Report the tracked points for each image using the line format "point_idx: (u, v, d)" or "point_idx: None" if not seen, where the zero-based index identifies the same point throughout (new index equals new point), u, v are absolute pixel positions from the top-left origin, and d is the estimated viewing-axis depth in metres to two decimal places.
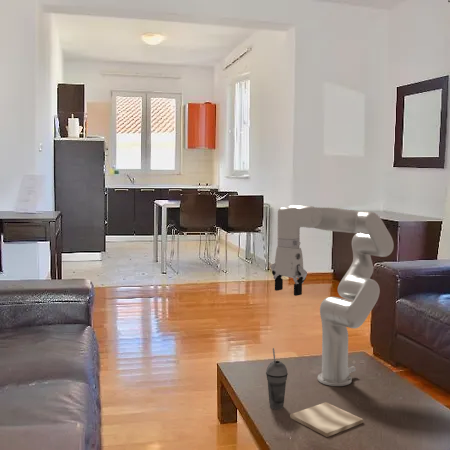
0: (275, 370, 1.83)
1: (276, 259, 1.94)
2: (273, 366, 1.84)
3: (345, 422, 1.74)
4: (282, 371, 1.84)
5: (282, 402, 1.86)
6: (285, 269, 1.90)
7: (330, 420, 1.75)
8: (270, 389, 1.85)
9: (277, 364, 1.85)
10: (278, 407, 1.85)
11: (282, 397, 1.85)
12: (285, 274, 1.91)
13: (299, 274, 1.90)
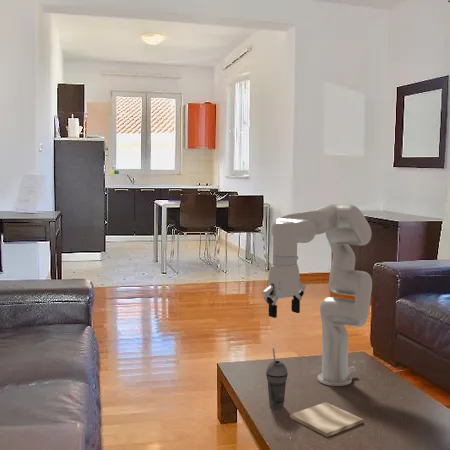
0: (275, 370, 1.83)
1: (280, 281, 1.72)
2: (273, 366, 1.84)
3: (345, 422, 1.74)
4: (282, 371, 1.84)
5: (282, 402, 1.86)
6: (292, 288, 1.75)
7: (330, 420, 1.75)
8: (270, 389, 1.85)
9: (277, 364, 1.85)
10: (278, 407, 1.85)
11: (282, 397, 1.85)
12: (291, 294, 1.75)
13: None
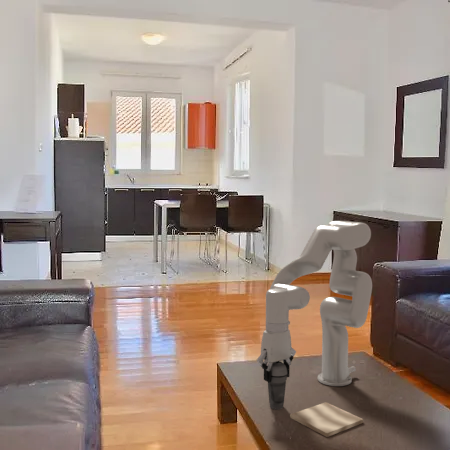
0: (275, 370, 1.83)
1: (272, 347, 1.82)
2: (273, 366, 1.84)
3: (345, 422, 1.74)
4: (282, 371, 1.84)
5: (282, 402, 1.86)
6: (284, 353, 1.85)
7: (330, 420, 1.75)
8: (270, 389, 1.85)
9: (277, 364, 1.85)
10: (278, 407, 1.85)
11: (282, 397, 1.85)
12: (283, 358, 1.85)
13: None
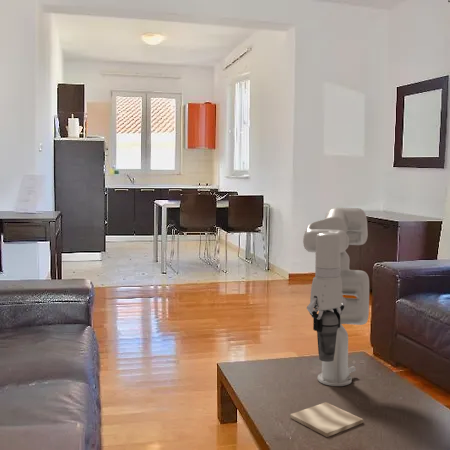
0: (326, 319, 1.71)
1: (324, 294, 1.70)
2: (324, 315, 1.72)
3: (345, 422, 1.74)
4: (334, 320, 1.72)
5: (333, 354, 1.74)
6: (335, 301, 1.73)
7: (330, 420, 1.75)
8: (320, 340, 1.73)
9: (328, 313, 1.73)
10: (329, 359, 1.74)
11: (333, 348, 1.73)
12: (334, 306, 1.73)
13: None
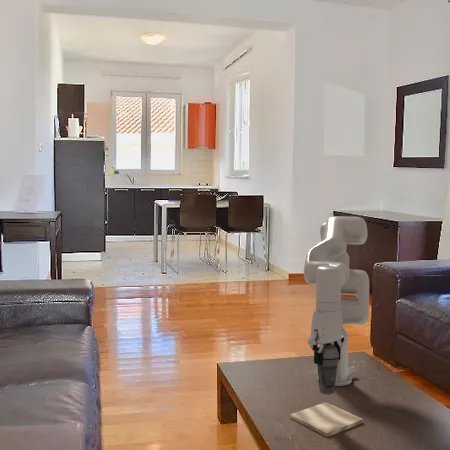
0: (327, 352, 1.72)
1: (324, 327, 1.70)
2: (324, 348, 1.73)
3: (345, 422, 1.74)
4: (334, 353, 1.72)
5: (333, 386, 1.75)
6: (335, 334, 1.73)
7: (330, 420, 1.75)
8: (321, 373, 1.74)
9: (328, 346, 1.73)
10: (329, 392, 1.74)
11: (333, 381, 1.74)
12: (334, 339, 1.74)
13: None
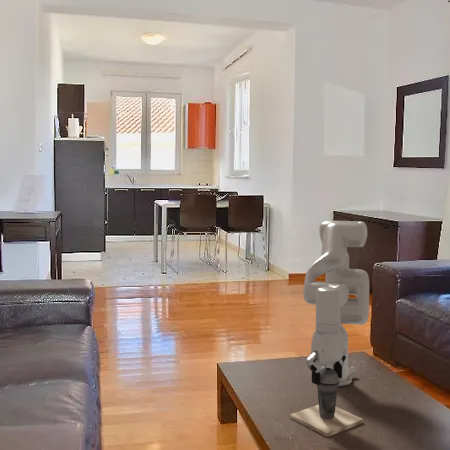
0: (327, 377, 1.73)
1: (324, 349, 1.71)
2: (324, 374, 1.74)
3: (345, 422, 1.74)
4: (334, 379, 1.74)
5: (333, 411, 1.76)
6: (335, 355, 1.74)
7: (330, 420, 1.75)
8: (321, 398, 1.75)
9: (328, 371, 1.75)
10: (329, 417, 1.75)
11: (333, 406, 1.75)
12: (334, 360, 1.74)
13: None
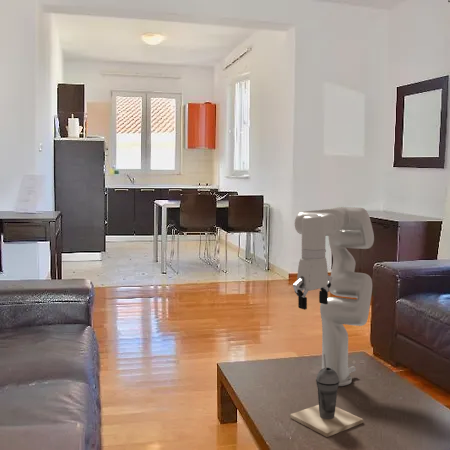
0: (327, 377, 1.73)
1: (310, 274, 1.77)
2: (324, 374, 1.74)
3: (345, 422, 1.74)
4: (334, 379, 1.74)
5: (333, 411, 1.76)
6: (321, 281, 1.80)
7: (330, 420, 1.75)
8: (321, 398, 1.75)
9: (328, 371, 1.75)
10: (329, 417, 1.75)
11: (333, 406, 1.75)
12: (320, 286, 1.80)
13: None
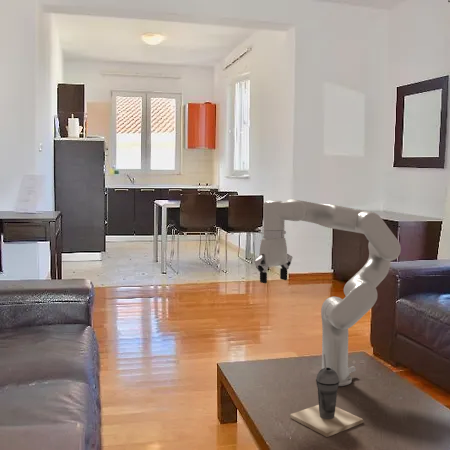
0: (327, 377, 1.73)
1: (270, 252, 2.00)
2: (324, 374, 1.74)
3: (345, 422, 1.74)
4: (334, 379, 1.74)
5: (333, 411, 1.76)
6: (280, 258, 2.03)
7: (330, 420, 1.75)
8: (321, 398, 1.75)
9: (328, 371, 1.75)
10: (329, 417, 1.75)
11: (333, 406, 1.75)
12: (279, 263, 2.03)
13: None
